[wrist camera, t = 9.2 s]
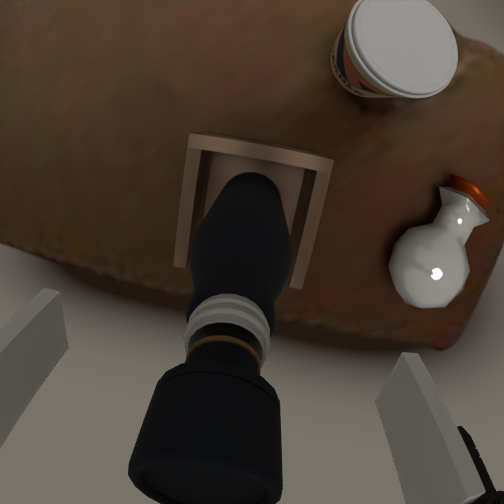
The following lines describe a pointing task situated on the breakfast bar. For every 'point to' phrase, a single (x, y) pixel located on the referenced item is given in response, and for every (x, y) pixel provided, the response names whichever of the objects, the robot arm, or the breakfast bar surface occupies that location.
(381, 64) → the coffee cup
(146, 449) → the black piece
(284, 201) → the u rest
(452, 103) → the breakfast bar surface
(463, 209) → the potion bottle
